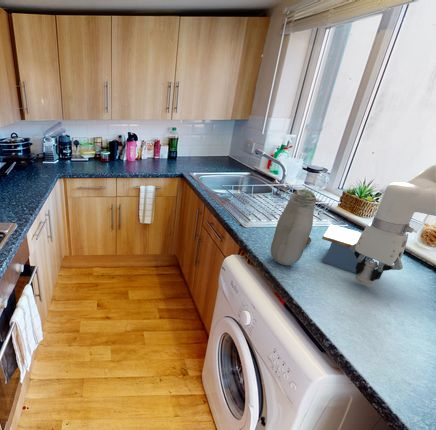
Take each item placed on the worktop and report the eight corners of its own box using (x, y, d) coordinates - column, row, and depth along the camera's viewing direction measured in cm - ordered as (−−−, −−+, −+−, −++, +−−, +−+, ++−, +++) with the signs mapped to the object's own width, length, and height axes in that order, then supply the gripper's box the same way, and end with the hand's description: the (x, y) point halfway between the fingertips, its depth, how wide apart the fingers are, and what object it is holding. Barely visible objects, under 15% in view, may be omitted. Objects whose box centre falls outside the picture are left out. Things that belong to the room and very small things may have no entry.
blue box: (368, 262, 106) (378, 241, 103) (364, 276, 99) (375, 254, 95) (330, 250, 114) (338, 230, 110) (324, 262, 106) (332, 241, 102)
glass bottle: (296, 273, 99) (322, 198, 88) (264, 262, 105) (285, 191, 93) (300, 260, 107) (325, 190, 95) (270, 251, 112) (290, 183, 100)
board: (389, 243, 101) (391, 240, 101) (386, 259, 92) (388, 255, 92) (329, 226, 113) (330, 224, 112) (321, 239, 104) (322, 236, 103)
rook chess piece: (358, 285, 91) (368, 264, 88) (351, 277, 95) (360, 256, 92) (375, 287, 90) (385, 266, 87) (367, 279, 94) (376, 258, 91)
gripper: (432, 234, 78) (404, 287, 86) (363, 212, 92) (344, 260, 100) (419, 240, 76) (391, 295, 83) (350, 216, 89) (331, 265, 97)
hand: (366, 275), depth 91 cm, fingers closed on rook chess piece, 3 cm apart
